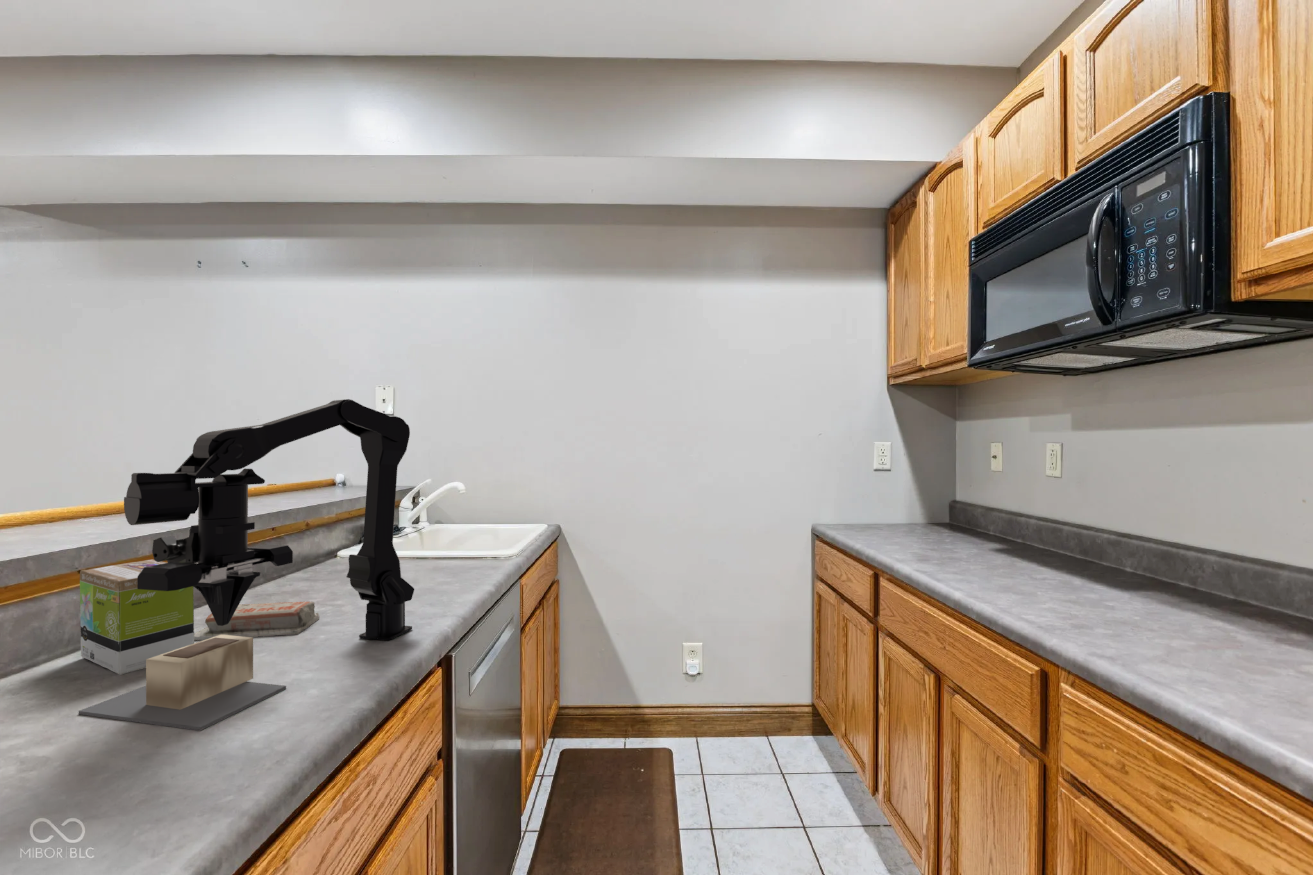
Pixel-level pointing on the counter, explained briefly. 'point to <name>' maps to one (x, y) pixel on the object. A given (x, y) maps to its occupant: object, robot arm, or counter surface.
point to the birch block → (198, 671)
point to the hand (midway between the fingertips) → (222, 624)
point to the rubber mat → (190, 717)
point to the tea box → (131, 618)
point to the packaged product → (263, 620)
